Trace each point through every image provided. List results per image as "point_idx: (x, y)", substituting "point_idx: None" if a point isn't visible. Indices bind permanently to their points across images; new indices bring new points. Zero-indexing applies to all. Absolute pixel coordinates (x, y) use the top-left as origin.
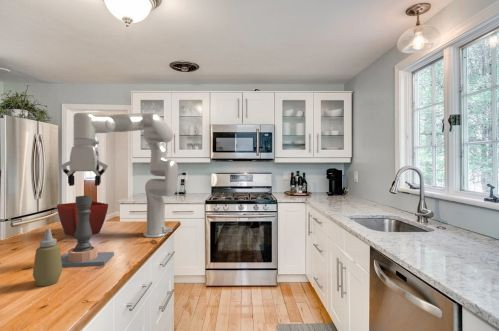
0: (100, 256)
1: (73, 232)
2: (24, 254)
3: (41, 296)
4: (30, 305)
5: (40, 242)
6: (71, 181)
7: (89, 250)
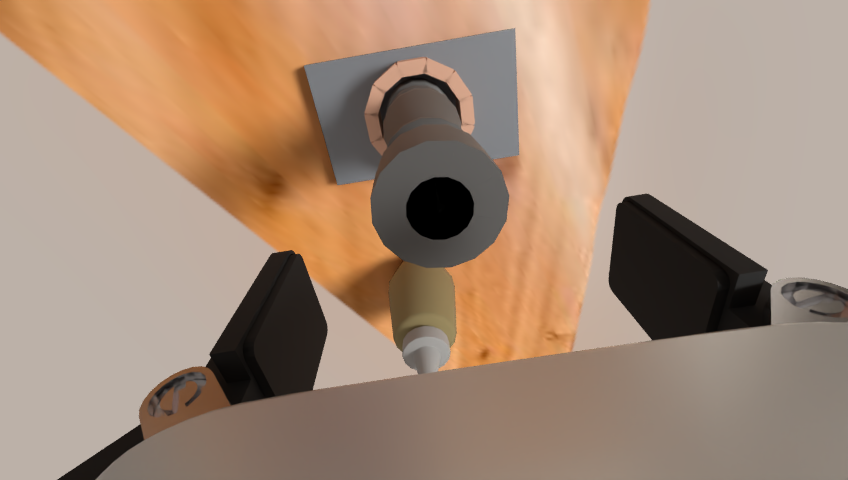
0: (481, 96)
1: None
2: (95, 30)
3: None
4: (457, 353)
5: (416, 369)
6: (315, 361)
7: None
